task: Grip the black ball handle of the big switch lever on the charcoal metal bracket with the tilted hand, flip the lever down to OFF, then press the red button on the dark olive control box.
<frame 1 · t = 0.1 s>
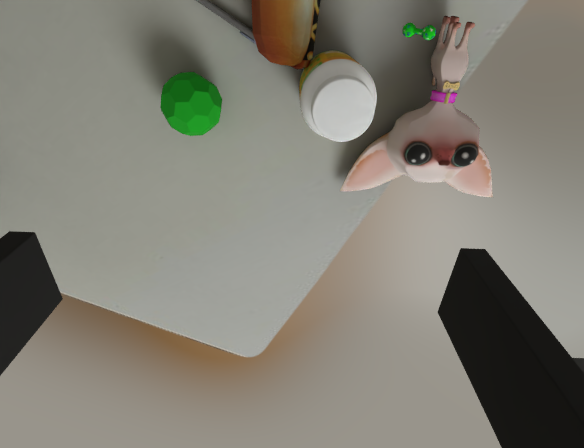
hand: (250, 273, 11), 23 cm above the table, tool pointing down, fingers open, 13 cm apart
toy dog: (467, 19, 24), point 4 cm above the table
pen: (209, 5, 27), on the table
polyhedron: (199, 98, 31), on the table
supplement bottle: (329, 83, 30), on the table
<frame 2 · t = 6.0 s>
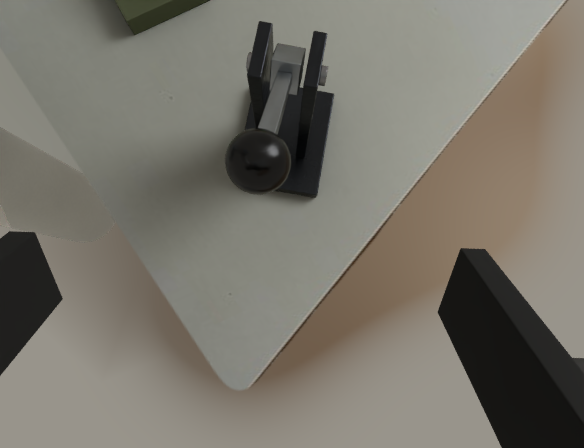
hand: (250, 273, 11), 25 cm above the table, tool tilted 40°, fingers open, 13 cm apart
lever: (274, 109, 22), point 16 cm above the table, hinge at 30.0°
switch bracket: (285, 140, 39), on the table
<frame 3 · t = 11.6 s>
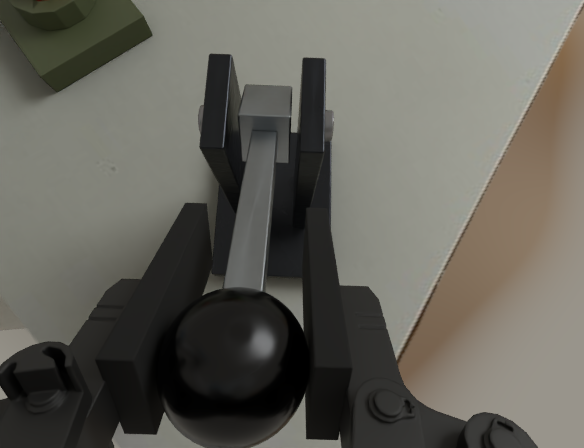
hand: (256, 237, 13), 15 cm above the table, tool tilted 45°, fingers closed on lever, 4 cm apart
lever: (255, 209, 12), point 16 cm above the table, hinge at 30.0°, touching gripper
switch bracket: (274, 204, 29), on the table
control box: (72, 19, 32), on the table
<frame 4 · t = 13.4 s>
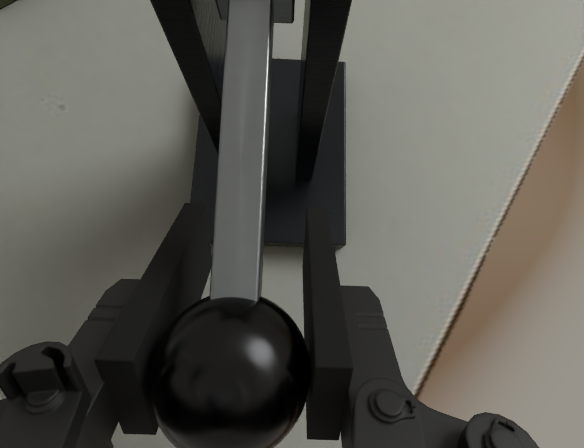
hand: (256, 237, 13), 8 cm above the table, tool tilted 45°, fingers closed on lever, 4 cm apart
lever: (244, 149, 9), point 12 cm above the table, hinge at -6.7°, touching gripper
switch bracket: (272, 152, 22), on the table
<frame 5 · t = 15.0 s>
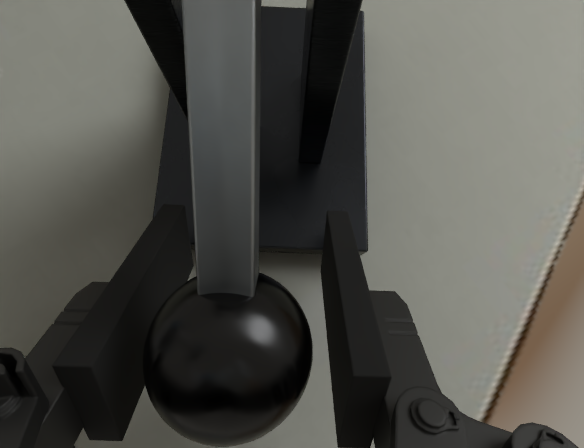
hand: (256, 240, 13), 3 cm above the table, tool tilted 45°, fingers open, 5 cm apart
lever: (226, 93, 6), point 10 cm above the table, hinge at -32.5°
switch bracket: (267, 129, 17), on the table
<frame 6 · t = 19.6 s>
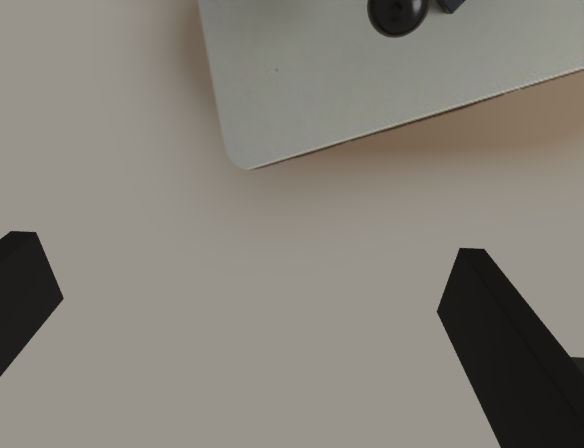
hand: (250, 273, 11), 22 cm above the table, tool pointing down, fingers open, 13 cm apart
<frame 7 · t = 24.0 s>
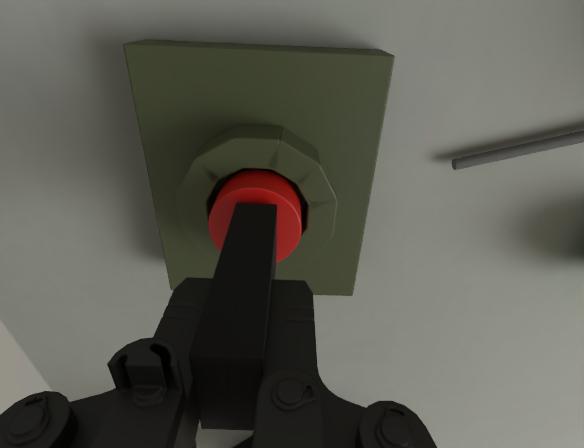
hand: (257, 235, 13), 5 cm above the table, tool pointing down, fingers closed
button: (257, 218, 14), point 4 cm above the table, slide at -0.2 cm, touching gripper
control box: (264, 176, 18), on the table
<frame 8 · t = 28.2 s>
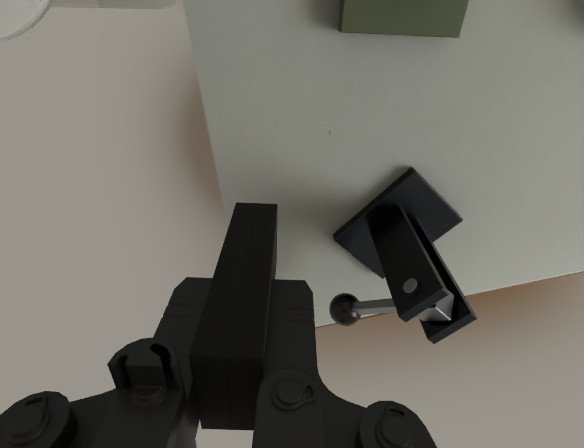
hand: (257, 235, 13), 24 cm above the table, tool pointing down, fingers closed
lever: (381, 306, 35), point 10 cm above the table, hinge at -32.5°
switch bracket: (394, 224, 41), on the table
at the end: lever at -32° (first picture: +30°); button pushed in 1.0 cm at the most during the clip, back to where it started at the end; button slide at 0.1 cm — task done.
